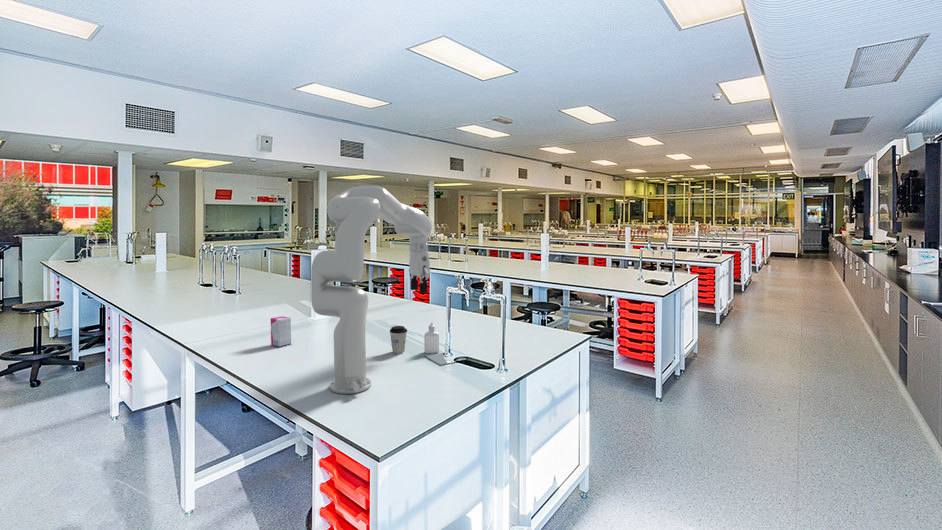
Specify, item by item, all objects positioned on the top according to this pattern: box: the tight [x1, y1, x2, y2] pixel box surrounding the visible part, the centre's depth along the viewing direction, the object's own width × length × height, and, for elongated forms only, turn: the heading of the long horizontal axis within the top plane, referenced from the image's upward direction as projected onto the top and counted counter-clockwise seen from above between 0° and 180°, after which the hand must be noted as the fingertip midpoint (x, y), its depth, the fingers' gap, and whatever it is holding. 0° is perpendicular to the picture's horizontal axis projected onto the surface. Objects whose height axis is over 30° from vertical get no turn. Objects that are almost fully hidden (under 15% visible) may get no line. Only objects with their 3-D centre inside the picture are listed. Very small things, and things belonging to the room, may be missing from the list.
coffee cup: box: [389, 325, 408, 355], centre depth 180 cm, size 7×7×10 cm
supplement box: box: [270, 315, 292, 349], centre depth 188 cm, size 6×6×12 cm
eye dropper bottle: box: [423, 322, 440, 354], centre depth 180 cm, size 4×6×12 cm
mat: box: [424, 352, 448, 366], centre depth 172 cm, size 12×10×1 cm
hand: (418, 290), depth 187 cm, fingers open, 7 cm apart
